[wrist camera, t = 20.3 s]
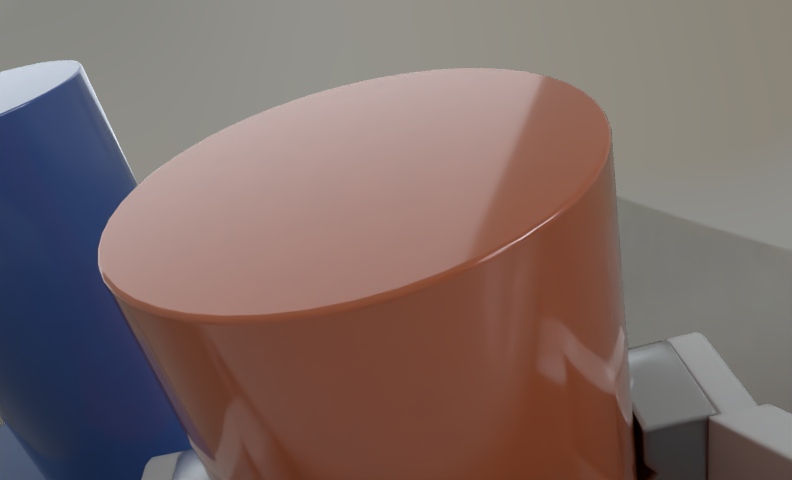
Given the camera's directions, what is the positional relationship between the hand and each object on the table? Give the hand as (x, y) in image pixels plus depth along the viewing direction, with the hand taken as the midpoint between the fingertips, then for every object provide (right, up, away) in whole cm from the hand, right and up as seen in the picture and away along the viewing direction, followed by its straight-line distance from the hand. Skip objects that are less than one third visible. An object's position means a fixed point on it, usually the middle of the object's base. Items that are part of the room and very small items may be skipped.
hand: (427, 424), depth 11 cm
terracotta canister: (+1, -5, +2) cm, 6 cm away
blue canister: (-8, -3, +10) cm, 13 cm away
